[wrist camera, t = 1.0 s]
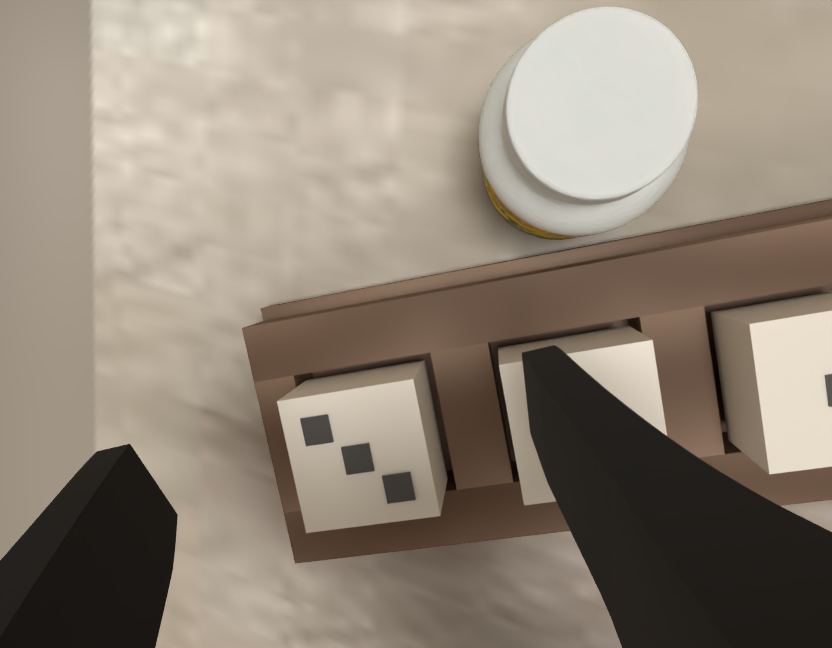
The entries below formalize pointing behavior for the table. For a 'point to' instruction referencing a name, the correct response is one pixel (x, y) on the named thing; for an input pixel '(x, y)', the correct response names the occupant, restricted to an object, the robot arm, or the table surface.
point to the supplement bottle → (587, 123)
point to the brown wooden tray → (534, 321)
